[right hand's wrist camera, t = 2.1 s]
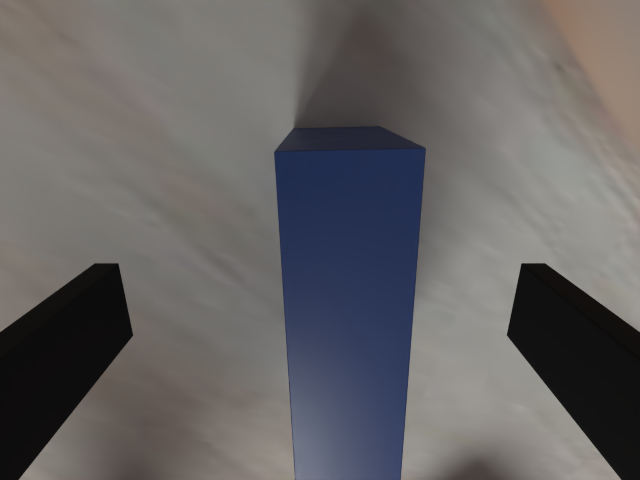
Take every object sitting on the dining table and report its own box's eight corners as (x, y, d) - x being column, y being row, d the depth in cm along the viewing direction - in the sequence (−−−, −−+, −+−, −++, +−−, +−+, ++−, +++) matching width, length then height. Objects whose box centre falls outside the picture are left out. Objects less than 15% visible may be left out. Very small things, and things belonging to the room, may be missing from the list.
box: (293, 128, 27) (273, 151, 15) (380, 126, 27) (426, 147, 15) (303, 367, 34) (296, 501, 23) (372, 365, 34) (399, 499, 23)
